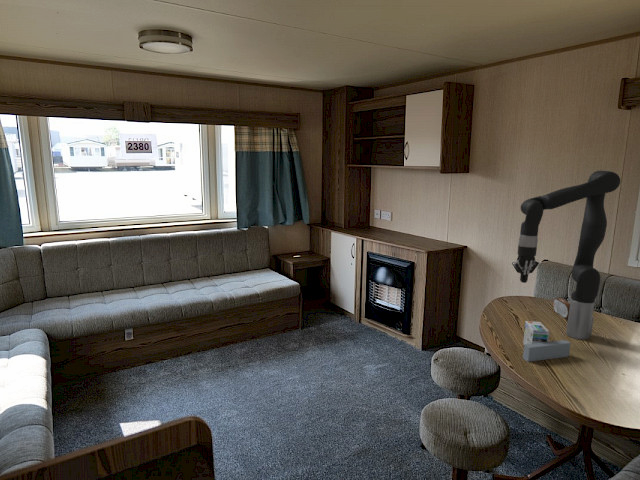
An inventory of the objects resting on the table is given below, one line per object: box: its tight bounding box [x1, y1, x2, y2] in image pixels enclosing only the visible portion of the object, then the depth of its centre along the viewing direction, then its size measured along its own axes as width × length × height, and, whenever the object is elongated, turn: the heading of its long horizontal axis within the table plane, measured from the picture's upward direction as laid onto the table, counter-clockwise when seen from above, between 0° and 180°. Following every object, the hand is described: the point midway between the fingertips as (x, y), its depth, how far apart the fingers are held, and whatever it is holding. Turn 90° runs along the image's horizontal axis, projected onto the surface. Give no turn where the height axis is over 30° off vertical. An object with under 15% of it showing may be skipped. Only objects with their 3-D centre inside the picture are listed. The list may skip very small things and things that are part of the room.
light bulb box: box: [522, 320, 550, 346], centre depth 183 cm, size 11×7×11 cm, turn 172°
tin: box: [552, 297, 570, 320], centre depth 223 cm, size 15×3×8 cm, turn 179°
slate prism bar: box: [522, 339, 571, 363], centre depth 176 cm, size 20×3×6 cm, turn 105°
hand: (523, 282), depth 195 cm, fingers closed
